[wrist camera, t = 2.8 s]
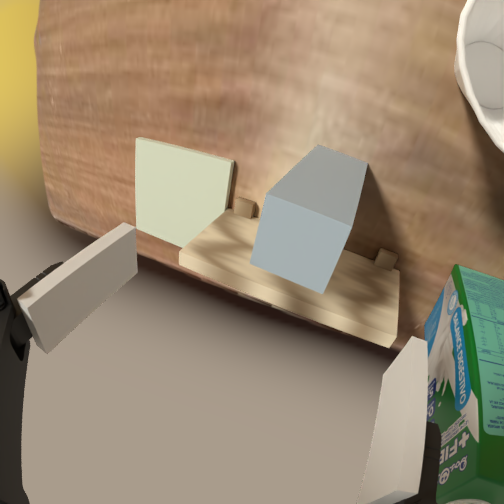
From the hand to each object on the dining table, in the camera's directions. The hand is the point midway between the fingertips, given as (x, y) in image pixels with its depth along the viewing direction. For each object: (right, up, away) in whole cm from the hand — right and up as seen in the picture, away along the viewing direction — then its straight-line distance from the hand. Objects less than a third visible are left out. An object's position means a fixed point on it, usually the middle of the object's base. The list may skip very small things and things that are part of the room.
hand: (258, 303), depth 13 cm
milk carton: (+25, -4, +16) cm, 30 cm away
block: (+8, +9, +16) cm, 20 cm away
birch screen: (+6, +3, +21) cm, 22 cm away
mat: (-9, +9, +24) cm, 27 cm away
